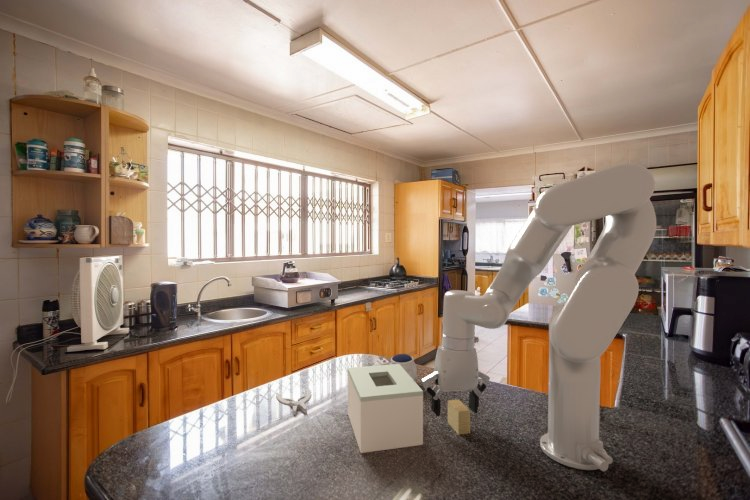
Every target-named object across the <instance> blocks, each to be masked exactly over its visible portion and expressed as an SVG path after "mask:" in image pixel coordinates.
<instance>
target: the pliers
mask: <svg viewBox="0 0 750 500" xmlns="http://www.w3.org/2000/svg"><path fill="white" fill-rule="evenodd" d="M311 396H312V391H311V389H310V388H308V387H307V388H306V394H305V395H303V396H300V397H299V398H298V399H297V400H295V399H291V398H287V397H286V398H284V397H282V396H281V394H280V393H279V392H276V396H275V397H276V399H277V401H278V402H280V403H281V404H282V405H285V406H286V405H287V406H289V407H292V413H293V414H292V415H293V416H296V415H297V411H298V410H300V411H301V412H302V413H303V414H307V413H308V408H307V406H306V403H307V402H308V401H309V400H310V399H311Z"/></svg>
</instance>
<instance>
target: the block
mask: <svg viewBox="0 0 750 500" xmlns="http://www.w3.org/2000/svg"><path fill="white" fill-rule="evenodd" d="M447 423H448V425H449V426H450V427H451V428H452V429H453V430H454V432H455V431H456V432H455V433H456V434H457V435H458V436H461V435H460V434H462V435H469V434H471V409H470V408H469V407H468V406H466V405H465V403H463V402H462V401H461V399H459V398H458V399H451V400H450V399H449V400H447ZM468 433H469V434H468Z"/></svg>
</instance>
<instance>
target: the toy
mask: <svg viewBox="0 0 750 500" xmlns="http://www.w3.org/2000/svg"><path fill="white" fill-rule="evenodd" d="M391 364H400V365H401V366H402V367H403V369H404V370H405V371H406V372H407V373H408V374H409V375H410V377H411V378H412V379H413V380H414V381H415V379H416V377H417V373H418V369H417V365H416V362H415V360H414V357H413V356H412V355H409V354H407V353H398V354H395V355H393V356H392V357H391V358H390V361H389V360H388V359H386V358H385V357H379V358H377V359H376V362H375V363H373V362H371V361H368V362H367V364H366V366H378V365H391Z"/></svg>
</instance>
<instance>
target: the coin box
mask: <svg viewBox="0 0 750 500" xmlns="http://www.w3.org/2000/svg"><path fill="white" fill-rule="evenodd" d="M347 415H348V418H349V421H350V424H351V428H352V430H353V434H354V436H355V440H356V443H357V446H358V449H359V453H360V454H363V453H372V452H380V451H385V450H386V451H387V450H394V449H401V448H408V447H415V446H416V447H417V446H423V444H424V390H423V389H422V388H421V387H420V386H419V385H418V384H417V382H416V381H415V379H414V380H413V379H412V378H411V377H410V375H409V374H408V373H407V372H406V371H405V370H404V369H403V367H402V366H401V365H400V364H391V365H378V366H367V365H366V366H356V367H347Z"/></svg>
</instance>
